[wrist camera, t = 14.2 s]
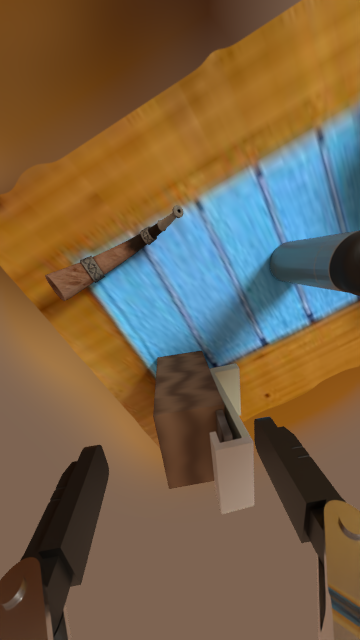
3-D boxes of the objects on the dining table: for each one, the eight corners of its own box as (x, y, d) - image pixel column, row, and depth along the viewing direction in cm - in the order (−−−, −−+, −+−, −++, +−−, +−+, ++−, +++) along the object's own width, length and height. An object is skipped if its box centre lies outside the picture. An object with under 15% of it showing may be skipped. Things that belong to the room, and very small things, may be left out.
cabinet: (201, 350, 51) (234, 429, 27) (207, 404, 56) (238, 509, 33) (157, 357, 50) (151, 443, 27) (167, 411, 56) (169, 522, 32)
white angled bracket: (235, 363, 46) (292, 433, 28) (237, 409, 51) (288, 496, 32) (189, 372, 45) (215, 450, 26) (195, 418, 50) (221, 514, 31)
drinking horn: (56, 277, 43) (25, 281, 33) (172, 207, 40) (174, 190, 31) (72, 298, 44) (47, 309, 35) (184, 232, 42) (190, 224, 32)
